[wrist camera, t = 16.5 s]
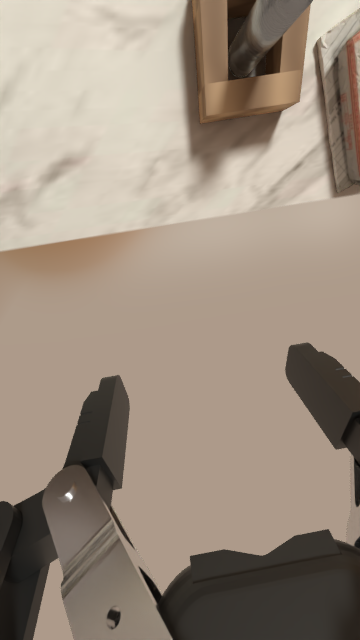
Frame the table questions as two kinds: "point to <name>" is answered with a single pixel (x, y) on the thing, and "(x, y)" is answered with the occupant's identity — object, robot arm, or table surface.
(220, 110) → the wooden frame
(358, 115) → the packaged product
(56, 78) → the table surface
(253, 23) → the steel rod
